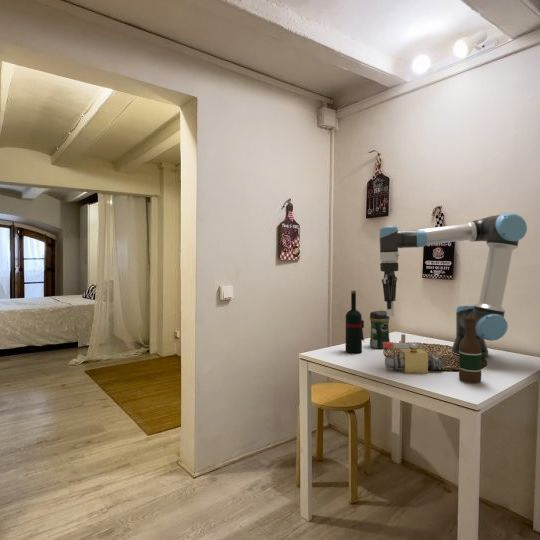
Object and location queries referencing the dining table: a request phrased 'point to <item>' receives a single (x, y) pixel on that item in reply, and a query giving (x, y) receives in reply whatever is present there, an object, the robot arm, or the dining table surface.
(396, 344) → the lever
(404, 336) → the pipe connector
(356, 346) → the wine bottle
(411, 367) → the pipe
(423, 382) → the dining table surface
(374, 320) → the coffee jar
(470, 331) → the beer bottle
